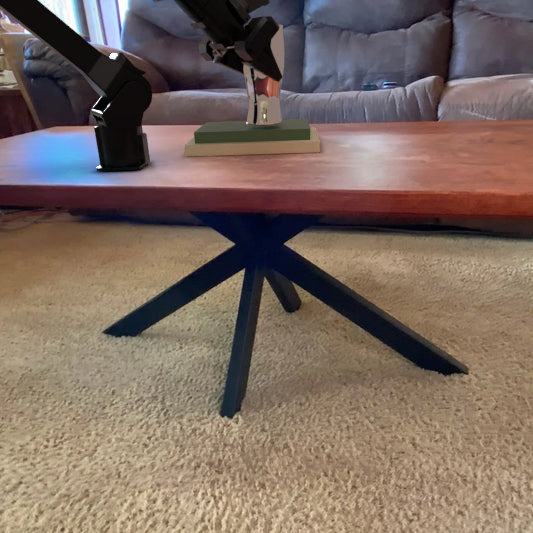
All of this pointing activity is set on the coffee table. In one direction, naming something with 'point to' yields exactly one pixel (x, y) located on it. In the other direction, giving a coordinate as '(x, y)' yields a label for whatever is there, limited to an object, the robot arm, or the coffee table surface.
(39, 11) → the robot arm
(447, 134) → the coffee table surface
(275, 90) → the beer glass
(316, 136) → the book stack
